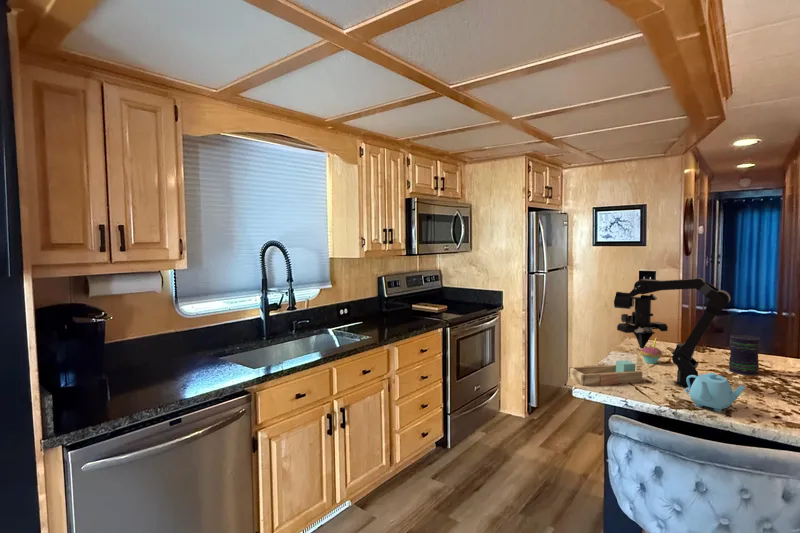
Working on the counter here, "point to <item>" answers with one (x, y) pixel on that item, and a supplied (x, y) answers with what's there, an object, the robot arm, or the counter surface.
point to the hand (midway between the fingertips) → (641, 348)
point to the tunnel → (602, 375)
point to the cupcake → (651, 354)
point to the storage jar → (744, 354)
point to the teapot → (712, 391)
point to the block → (625, 366)
